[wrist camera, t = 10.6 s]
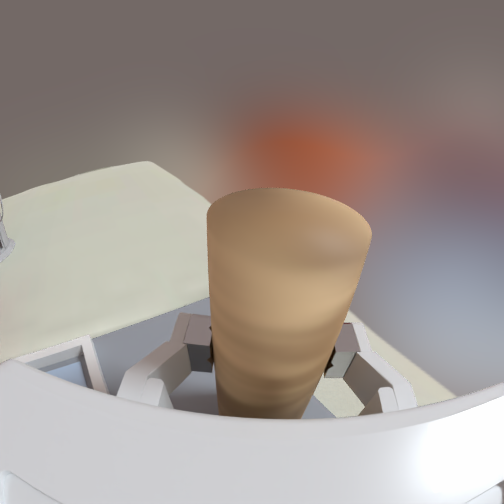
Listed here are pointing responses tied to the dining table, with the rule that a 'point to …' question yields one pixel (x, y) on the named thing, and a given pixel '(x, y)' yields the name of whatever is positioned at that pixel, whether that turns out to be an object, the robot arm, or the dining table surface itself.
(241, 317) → the oak column
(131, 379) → the robot arm
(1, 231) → the french press
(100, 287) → the dining table surface
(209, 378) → the board
